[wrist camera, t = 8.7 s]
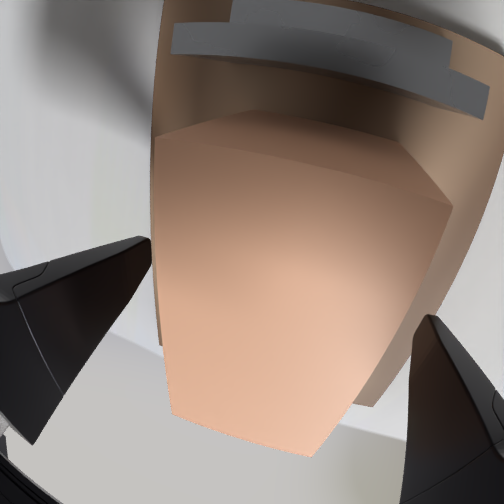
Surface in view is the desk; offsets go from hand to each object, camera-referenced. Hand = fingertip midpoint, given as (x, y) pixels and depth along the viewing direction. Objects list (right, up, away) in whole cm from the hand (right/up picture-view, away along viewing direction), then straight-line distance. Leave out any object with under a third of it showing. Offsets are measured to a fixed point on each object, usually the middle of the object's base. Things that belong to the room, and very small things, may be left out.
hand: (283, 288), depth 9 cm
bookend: (+2, +8, -1) cm, 8 cm away
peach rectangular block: (+1, +1, +3) cm, 3 cm away
